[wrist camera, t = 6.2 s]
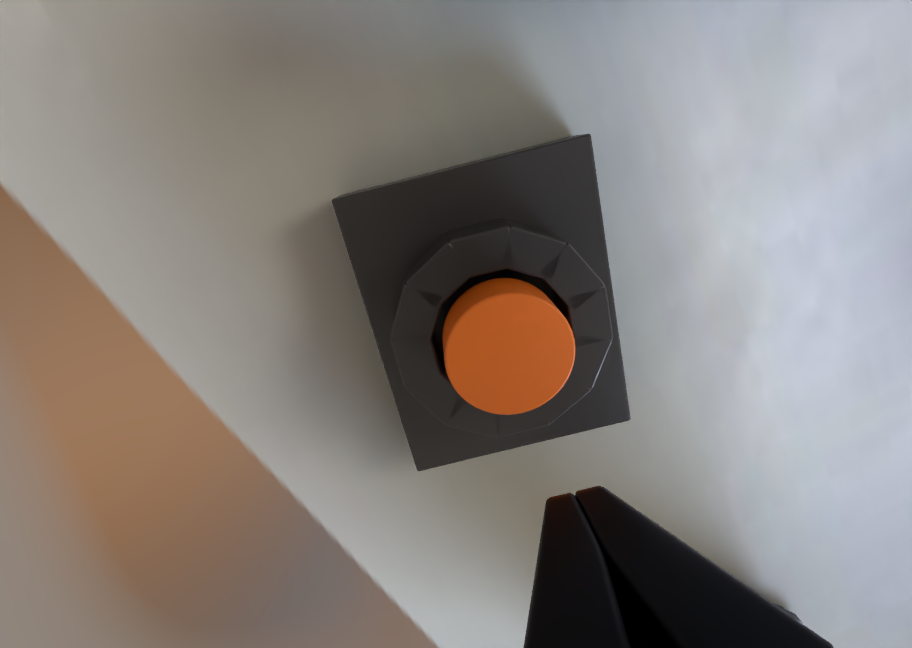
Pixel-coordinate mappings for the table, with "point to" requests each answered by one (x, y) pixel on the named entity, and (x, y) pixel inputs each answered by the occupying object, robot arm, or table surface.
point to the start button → (507, 346)
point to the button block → (480, 259)
